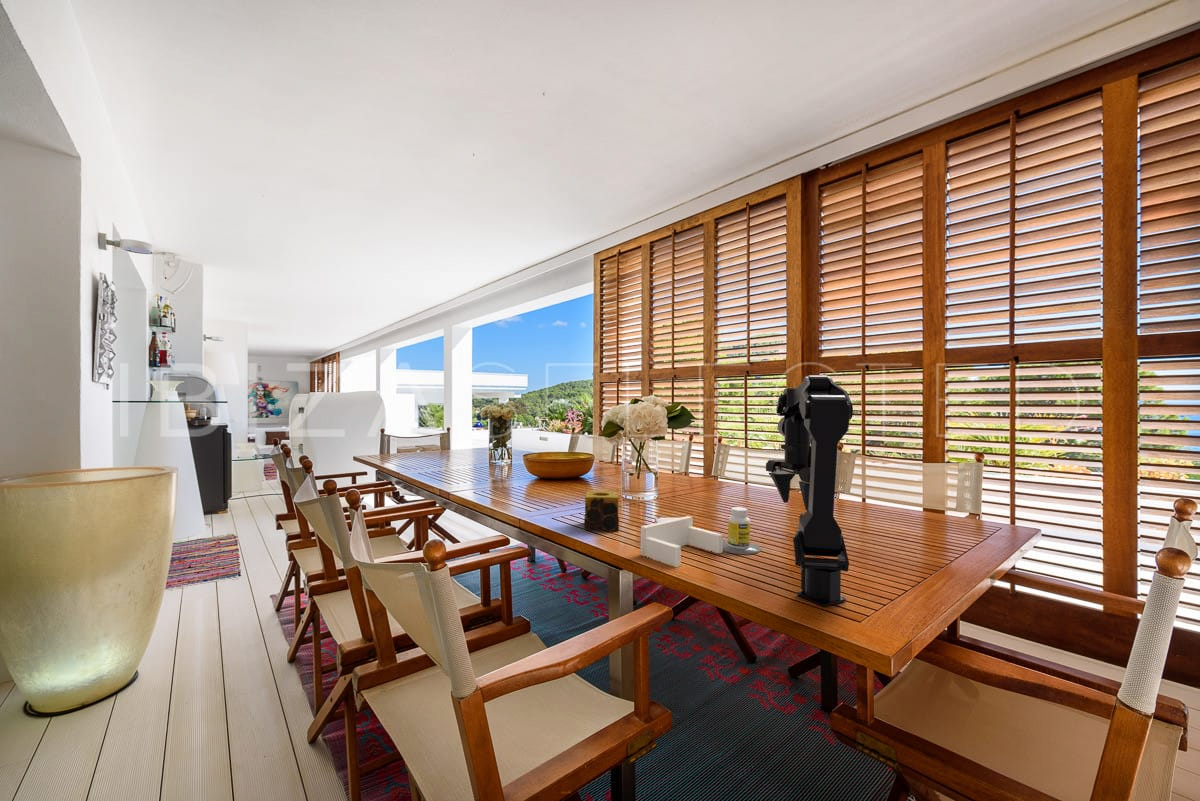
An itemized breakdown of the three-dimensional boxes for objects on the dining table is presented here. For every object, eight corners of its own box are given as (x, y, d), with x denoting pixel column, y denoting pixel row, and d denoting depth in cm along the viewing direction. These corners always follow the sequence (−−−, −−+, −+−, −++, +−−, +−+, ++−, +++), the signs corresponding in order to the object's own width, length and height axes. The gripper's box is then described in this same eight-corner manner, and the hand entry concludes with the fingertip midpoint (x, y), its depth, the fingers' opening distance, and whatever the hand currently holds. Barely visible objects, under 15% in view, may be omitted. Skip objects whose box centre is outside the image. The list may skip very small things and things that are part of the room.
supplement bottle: (739, 550, 126) (739, 511, 126) (723, 545, 131) (723, 507, 131) (754, 547, 129) (754, 509, 129) (738, 542, 133) (739, 505, 133)
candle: (619, 532, 144) (619, 497, 144) (583, 531, 145) (584, 497, 144) (618, 523, 155) (618, 490, 155) (585, 522, 155) (585, 490, 155)
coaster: (770, 550, 128) (770, 549, 128) (737, 556, 122) (737, 555, 122) (739, 539, 137) (739, 538, 137) (707, 545, 132) (707, 543, 132)
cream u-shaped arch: (722, 552, 126) (723, 524, 126) (675, 567, 115) (676, 536, 115) (687, 542, 135) (687, 516, 135) (640, 554, 123) (640, 526, 123)
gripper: (854, 444, 112) (853, 514, 112) (803, 437, 130) (803, 497, 131) (810, 445, 110) (809, 516, 110) (764, 438, 128) (764, 499, 128)
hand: (796, 506), depth 120 cm, fingers open, 9 cm apart
